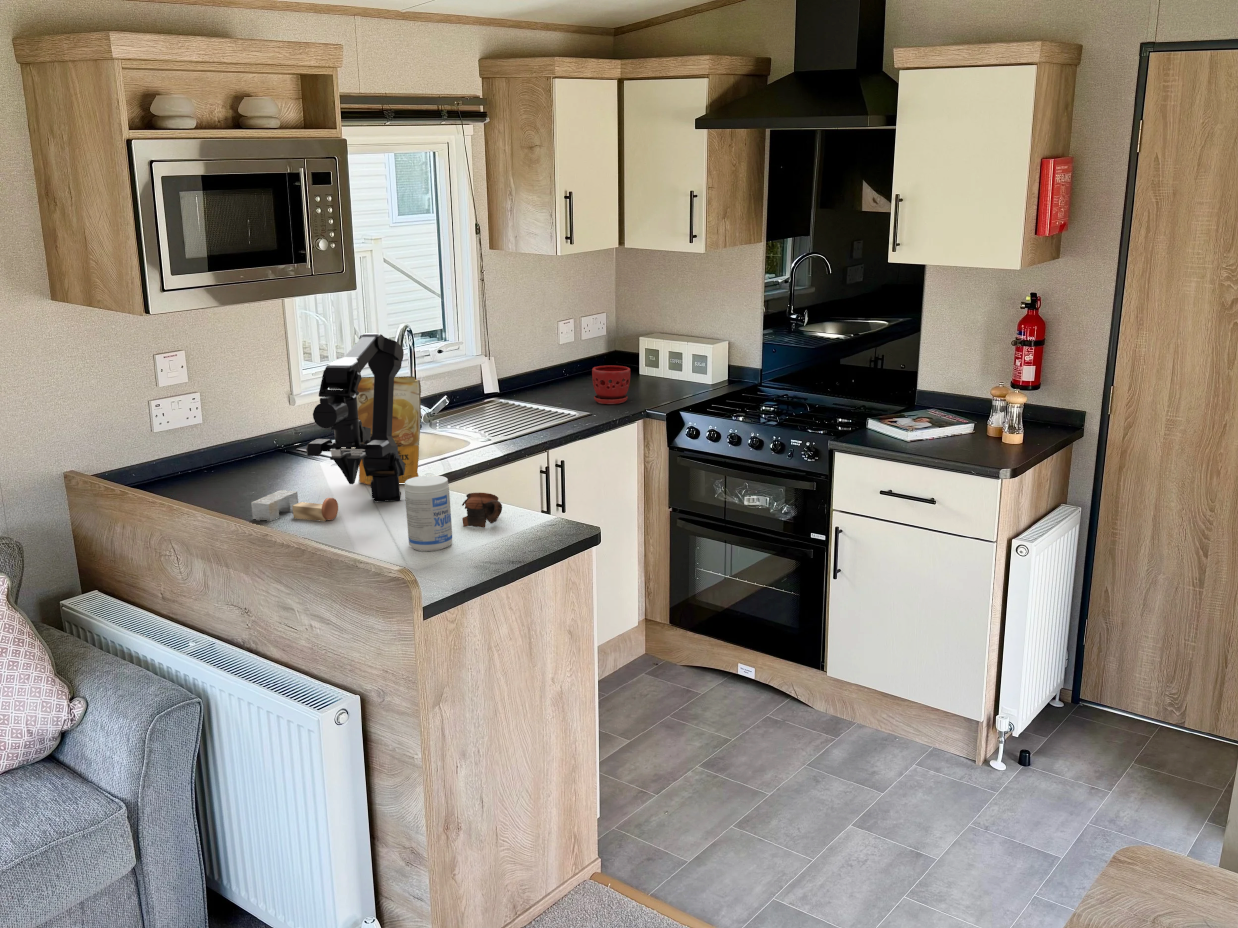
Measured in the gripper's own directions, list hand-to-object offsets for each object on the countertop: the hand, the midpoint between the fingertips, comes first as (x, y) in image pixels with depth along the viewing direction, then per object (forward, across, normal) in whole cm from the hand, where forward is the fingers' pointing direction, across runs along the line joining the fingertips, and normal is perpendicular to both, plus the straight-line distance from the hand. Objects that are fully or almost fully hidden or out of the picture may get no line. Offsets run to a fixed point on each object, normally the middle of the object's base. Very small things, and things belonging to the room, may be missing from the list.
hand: (352, 483), depth 266 cm
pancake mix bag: (+10, +6, -34) cm, 36 cm away
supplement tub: (+9, -24, +15) cm, 30 cm away
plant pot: (+10, -32, -140) cm, 144 cm away
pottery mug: (+10, -31, -2) cm, 32 cm away
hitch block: (+9, +22, -4) cm, 24 cm away
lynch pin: (+9, +11, -2) cm, 15 cm away
